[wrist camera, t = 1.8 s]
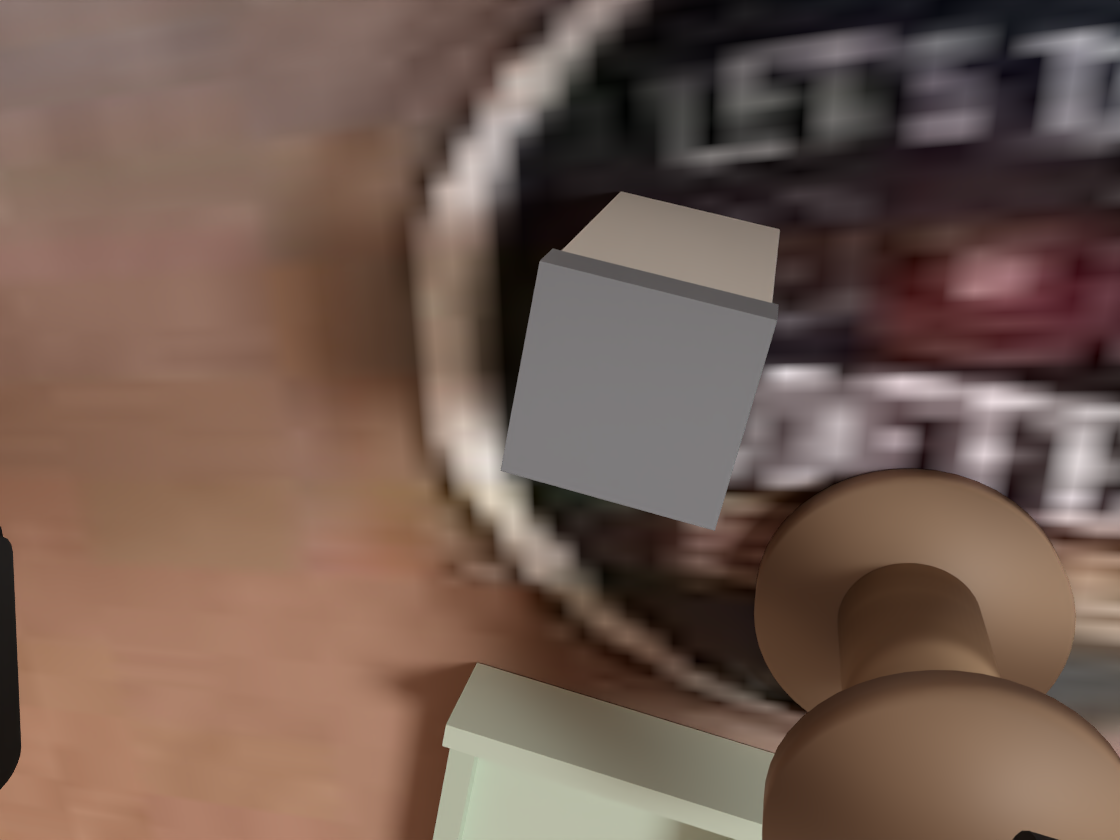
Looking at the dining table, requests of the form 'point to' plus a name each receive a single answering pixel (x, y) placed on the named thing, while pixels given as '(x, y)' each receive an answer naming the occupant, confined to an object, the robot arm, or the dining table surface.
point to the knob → (925, 670)
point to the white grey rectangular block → (645, 357)
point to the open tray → (588, 770)
